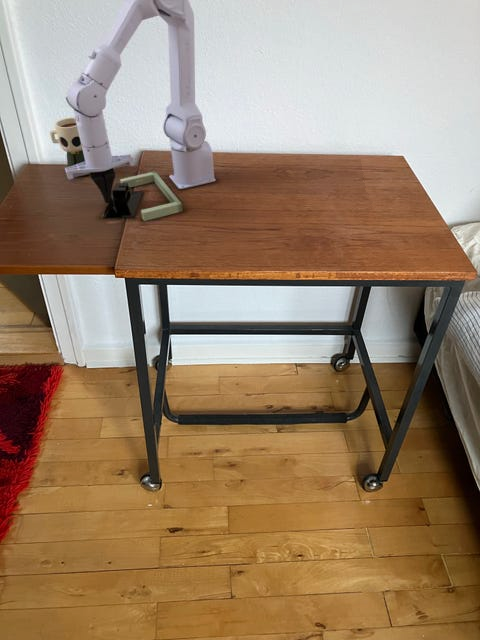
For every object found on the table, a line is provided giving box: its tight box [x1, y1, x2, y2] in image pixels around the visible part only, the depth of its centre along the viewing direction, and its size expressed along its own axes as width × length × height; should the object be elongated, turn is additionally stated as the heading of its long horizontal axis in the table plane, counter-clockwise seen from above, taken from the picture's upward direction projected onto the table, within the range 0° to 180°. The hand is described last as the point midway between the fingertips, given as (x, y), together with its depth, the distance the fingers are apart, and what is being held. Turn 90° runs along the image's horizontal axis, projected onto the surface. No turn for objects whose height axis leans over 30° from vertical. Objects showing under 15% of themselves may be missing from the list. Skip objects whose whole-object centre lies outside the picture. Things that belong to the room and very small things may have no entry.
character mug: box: [49, 116, 88, 176], centre depth 134 cm, size 11×7×13 cm, turn 90°
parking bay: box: [119, 171, 183, 222], centre depth 125 cm, size 9×19×2 cm, turn 25°
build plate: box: [101, 182, 144, 219], centre depth 122 cm, size 12×7×5 cm, turn 178°
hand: (107, 201), depth 122 cm, fingers closed
